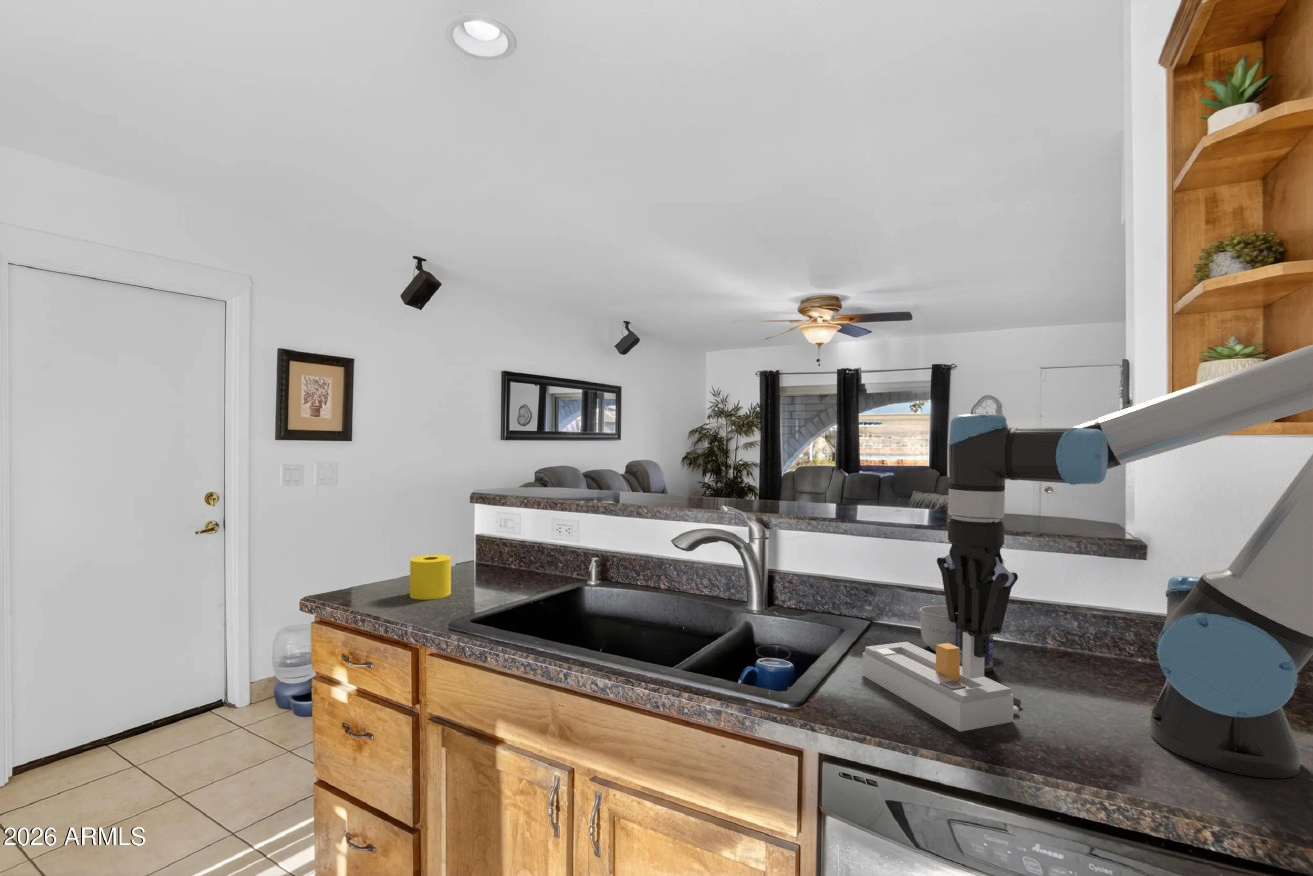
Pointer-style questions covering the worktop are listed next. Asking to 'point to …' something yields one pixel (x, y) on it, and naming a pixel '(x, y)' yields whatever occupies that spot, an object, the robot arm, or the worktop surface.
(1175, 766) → the worktop surface
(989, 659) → the pill bottle
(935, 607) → the teacup
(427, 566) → the yellow toilet paper roll
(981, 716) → the slider switch box
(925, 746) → the worktop surface
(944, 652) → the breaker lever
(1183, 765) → the worktop surface
